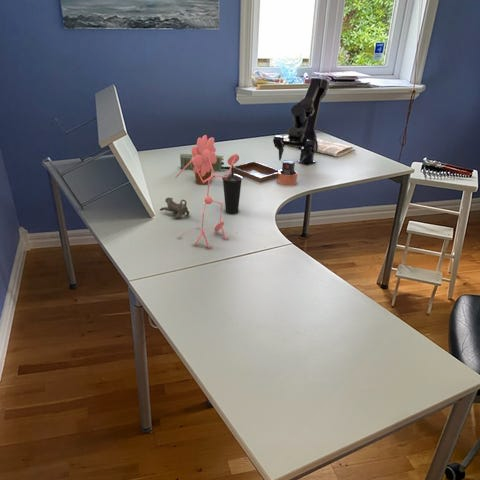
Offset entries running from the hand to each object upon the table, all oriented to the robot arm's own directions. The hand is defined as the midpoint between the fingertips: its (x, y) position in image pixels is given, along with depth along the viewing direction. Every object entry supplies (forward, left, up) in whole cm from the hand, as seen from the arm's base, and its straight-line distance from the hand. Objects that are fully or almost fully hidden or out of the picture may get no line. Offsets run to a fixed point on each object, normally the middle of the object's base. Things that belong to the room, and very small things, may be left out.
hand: (289, 161), depth 215 cm
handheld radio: (+18, -36, -10) cm, 41 cm away
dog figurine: (+61, -2, -10) cm, 61 cm away
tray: (+4, -16, -9) cm, 19 cm away
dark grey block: (+1, +1, -9) cm, 9 cm away
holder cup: (+1, +1, -9) cm, 9 cm away
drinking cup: (+42, +9, -10) cm, 44 cm away
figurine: (+65, +20, -10) cm, 68 cm away
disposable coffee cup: (+30, -24, -10) cm, 39 cm away
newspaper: (-53, -29, -10) cm, 61 cm away
